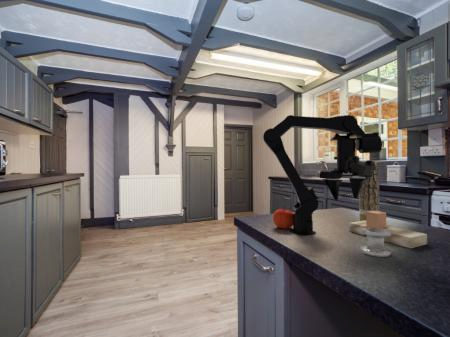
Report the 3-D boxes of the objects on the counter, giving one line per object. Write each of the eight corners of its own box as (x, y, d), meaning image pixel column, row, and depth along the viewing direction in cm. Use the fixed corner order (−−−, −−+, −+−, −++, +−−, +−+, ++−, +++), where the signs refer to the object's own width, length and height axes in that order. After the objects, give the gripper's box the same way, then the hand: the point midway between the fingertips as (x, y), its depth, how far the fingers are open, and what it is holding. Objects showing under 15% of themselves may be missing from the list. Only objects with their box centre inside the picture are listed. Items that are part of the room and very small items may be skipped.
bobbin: (354, 250, 69) (354, 228, 68) (371, 246, 71) (371, 226, 71) (379, 259, 62) (379, 235, 62) (397, 254, 65) (397, 232, 65)
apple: (268, 227, 94) (268, 206, 94) (282, 224, 99) (282, 204, 99) (285, 232, 88) (285, 209, 88) (299, 228, 93) (299, 207, 93)
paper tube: (382, 226, 94) (382, 160, 94) (362, 225, 96) (362, 161, 95) (375, 222, 101) (375, 161, 100) (357, 221, 102) (357, 161, 102)
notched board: (349, 231, 88) (349, 222, 88) (364, 228, 91) (364, 220, 91) (410, 248, 70) (410, 237, 70) (427, 244, 73) (427, 234, 73)
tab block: (366, 235, 83) (366, 211, 83) (374, 233, 84) (374, 210, 84) (378, 238, 79) (378, 213, 79) (386, 237, 81) (386, 212, 81)
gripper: (346, 151, 73) (346, 204, 73) (387, 152, 81) (387, 200, 81) (318, 153, 83) (318, 199, 84) (357, 154, 91) (357, 196, 91)
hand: (346, 199), depth 84 cm, fingers open, 9 cm apart
